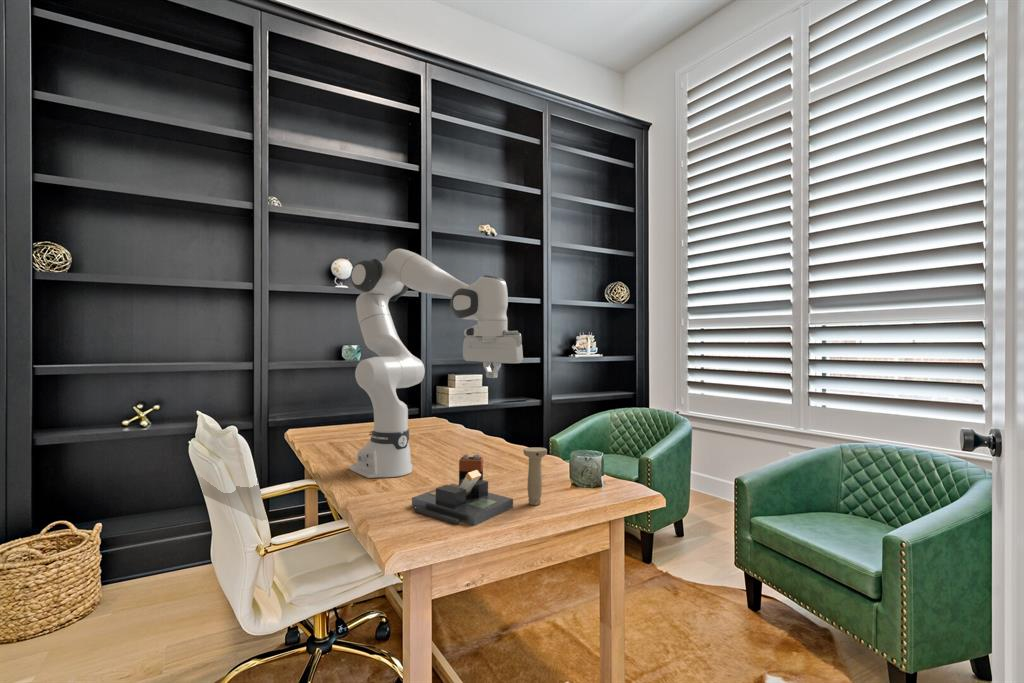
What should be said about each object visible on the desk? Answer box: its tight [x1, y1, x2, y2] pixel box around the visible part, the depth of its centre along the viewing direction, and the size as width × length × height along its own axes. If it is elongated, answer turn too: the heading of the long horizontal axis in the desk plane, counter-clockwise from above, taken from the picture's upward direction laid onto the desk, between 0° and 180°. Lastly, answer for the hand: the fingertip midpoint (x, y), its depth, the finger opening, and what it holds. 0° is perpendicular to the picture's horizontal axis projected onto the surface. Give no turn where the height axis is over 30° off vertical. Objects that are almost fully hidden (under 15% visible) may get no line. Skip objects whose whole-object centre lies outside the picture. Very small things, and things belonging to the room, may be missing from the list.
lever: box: [459, 470, 481, 496], centre depth 131 cm, size 2×4×8 cm
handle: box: [523, 446, 548, 506], centre depth 135 cm, size 5×6×15 cm
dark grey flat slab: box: [413, 507, 460, 525], centre depth 132 cm, size 15×21×1 cm
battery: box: [458, 454, 484, 481], centre depth 149 cm, size 4×7×10 cm, turn 86°
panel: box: [411, 479, 514, 526], centre depth 132 cm, size 22×16×6 cm
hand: (491, 377), depth 145 cm, fingers closed
